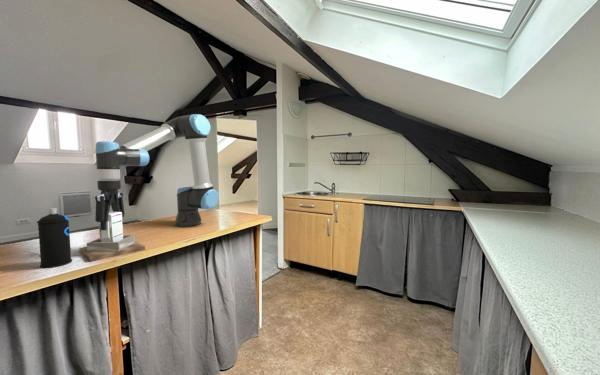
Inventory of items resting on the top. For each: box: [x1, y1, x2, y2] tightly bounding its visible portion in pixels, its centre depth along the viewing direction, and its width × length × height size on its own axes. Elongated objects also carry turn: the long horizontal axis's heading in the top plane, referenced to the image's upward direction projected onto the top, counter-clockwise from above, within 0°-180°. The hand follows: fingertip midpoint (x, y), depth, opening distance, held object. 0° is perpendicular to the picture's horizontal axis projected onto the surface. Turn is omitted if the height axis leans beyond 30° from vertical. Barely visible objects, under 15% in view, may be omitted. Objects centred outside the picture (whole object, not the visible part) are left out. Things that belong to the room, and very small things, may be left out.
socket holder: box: [78, 234, 146, 263], centre depth 102 cm, size 18×18×5 cm
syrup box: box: [98, 211, 124, 242], centre depth 102 cm, size 6×6×14 cm
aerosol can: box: [36, 207, 73, 269], centre depth 87 cm, size 8×8×20 cm
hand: (112, 235), depth 102 cm, fingers open, 7 cm apart
